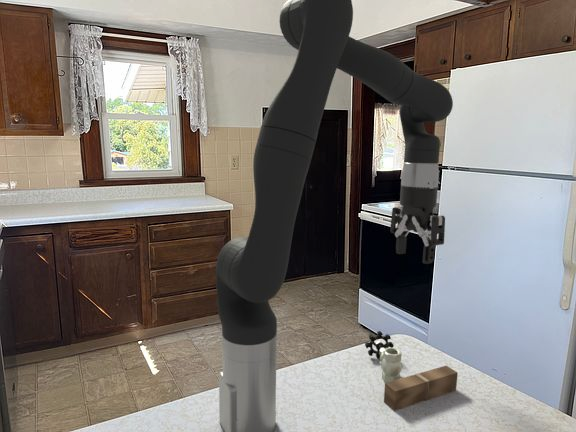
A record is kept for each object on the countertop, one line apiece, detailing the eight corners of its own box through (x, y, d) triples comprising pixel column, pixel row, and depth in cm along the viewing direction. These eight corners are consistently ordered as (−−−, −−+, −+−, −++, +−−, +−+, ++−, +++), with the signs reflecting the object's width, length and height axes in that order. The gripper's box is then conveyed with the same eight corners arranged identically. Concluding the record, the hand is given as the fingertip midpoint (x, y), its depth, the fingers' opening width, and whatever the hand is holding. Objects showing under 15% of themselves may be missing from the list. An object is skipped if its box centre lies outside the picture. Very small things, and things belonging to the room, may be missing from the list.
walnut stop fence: (393, 411, 79) (395, 391, 78) (383, 402, 81) (384, 382, 81) (456, 390, 85) (457, 372, 85) (444, 383, 88) (446, 365, 87)
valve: (409, 385, 87) (391, 356, 99) (411, 355, 86) (393, 330, 98) (378, 386, 87) (364, 357, 99) (379, 356, 86) (365, 331, 98)
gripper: (384, 181, 94) (379, 252, 97) (429, 187, 81) (423, 268, 84) (410, 181, 97) (405, 249, 100) (458, 187, 84) (451, 265, 87)
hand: (413, 258), depth 92 cm, fingers open, 8 cm apart
